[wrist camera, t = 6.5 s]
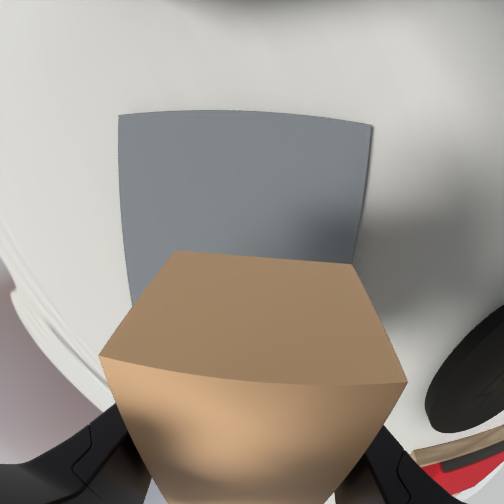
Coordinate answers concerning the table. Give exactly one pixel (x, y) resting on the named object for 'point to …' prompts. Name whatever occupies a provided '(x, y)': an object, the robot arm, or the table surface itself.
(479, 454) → the red device housing
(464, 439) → the organizer frame
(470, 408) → the wireless charger
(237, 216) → the mat
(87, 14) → the table surface
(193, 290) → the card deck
